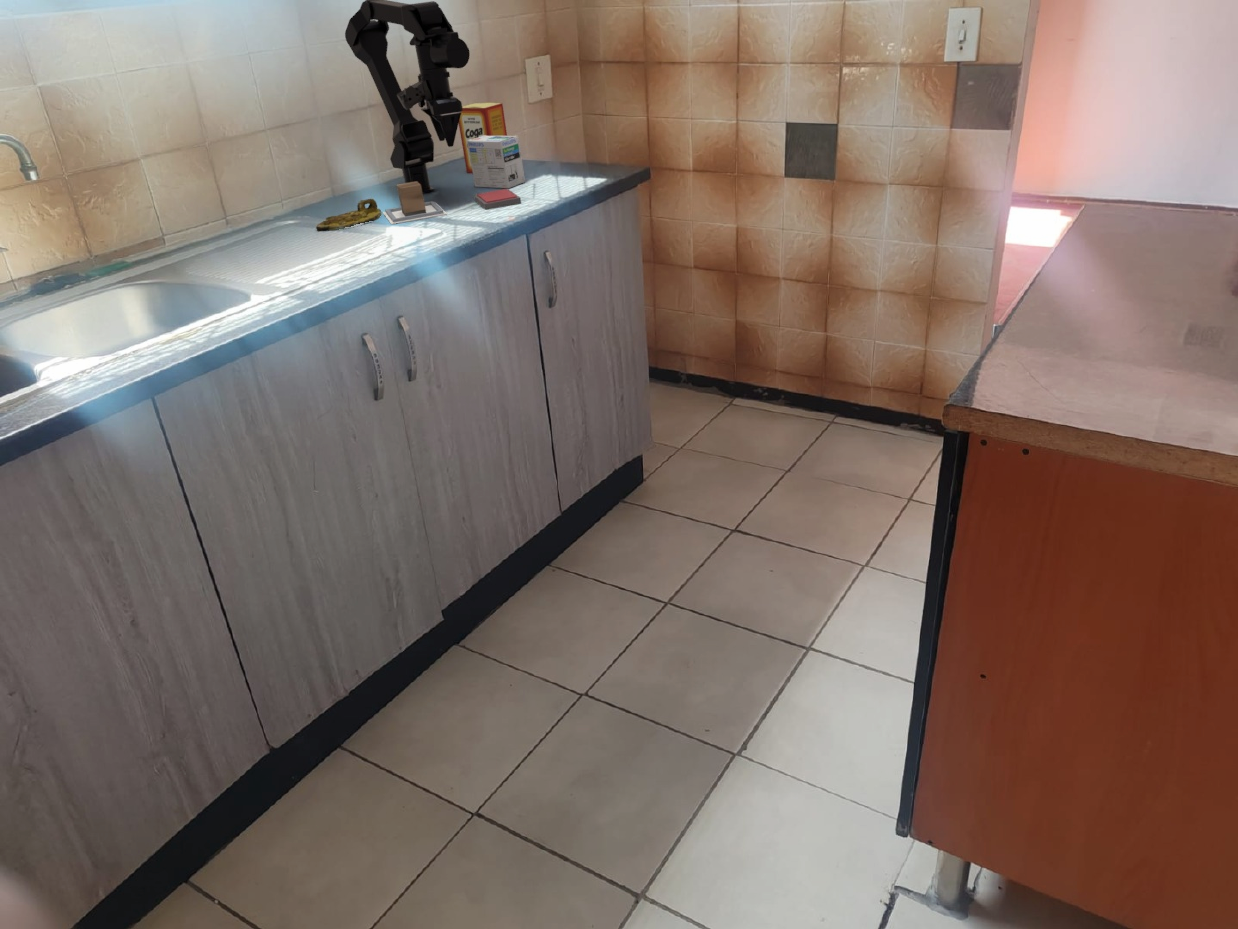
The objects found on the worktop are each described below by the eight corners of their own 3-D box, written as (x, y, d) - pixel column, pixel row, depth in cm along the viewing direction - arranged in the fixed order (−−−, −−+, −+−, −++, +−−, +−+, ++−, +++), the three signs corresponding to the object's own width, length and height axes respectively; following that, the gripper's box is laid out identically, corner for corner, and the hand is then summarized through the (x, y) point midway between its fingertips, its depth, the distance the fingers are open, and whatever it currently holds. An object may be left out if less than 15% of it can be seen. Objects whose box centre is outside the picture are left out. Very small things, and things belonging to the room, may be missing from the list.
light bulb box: (526, 182, 219) (519, 134, 214) (508, 189, 215) (501, 140, 209) (491, 180, 225) (484, 134, 220) (473, 187, 220) (465, 140, 215)
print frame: (382, 213, 205) (382, 209, 205) (436, 203, 208) (435, 199, 208) (391, 224, 195) (390, 220, 195) (447, 214, 198) (446, 210, 198)
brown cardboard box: (402, 212, 203) (396, 184, 200) (422, 208, 204) (417, 181, 201) (405, 216, 199) (399, 188, 196) (426, 212, 201) (420, 184, 198)
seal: (329, 240, 194) (391, 222, 202) (324, 219, 191) (388, 201, 199) (308, 229, 200) (370, 212, 208) (303, 208, 197) (366, 191, 205)
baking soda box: (467, 172, 235) (455, 106, 228) (484, 167, 240) (473, 101, 232) (495, 174, 230) (484, 106, 223) (511, 168, 235) (502, 101, 227)
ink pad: (474, 200, 207) (473, 193, 207) (509, 194, 210) (508, 187, 209) (485, 209, 199) (484, 202, 198) (521, 203, 201) (520, 196, 200)
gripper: (388, 69, 204) (403, 143, 211) (402, 76, 188) (418, 155, 196) (438, 62, 207) (451, 135, 214) (456, 68, 191) (469, 147, 199)
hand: (446, 143), depth 206 cm, fingers open, 9 cm apart
